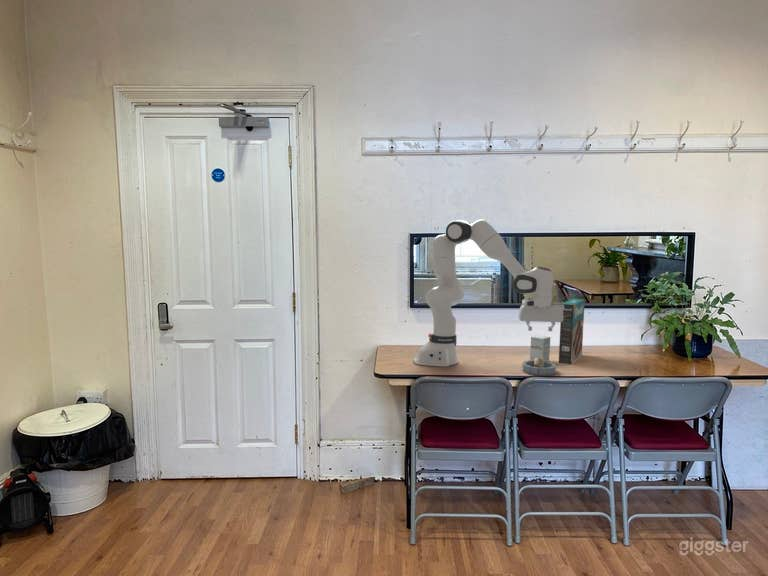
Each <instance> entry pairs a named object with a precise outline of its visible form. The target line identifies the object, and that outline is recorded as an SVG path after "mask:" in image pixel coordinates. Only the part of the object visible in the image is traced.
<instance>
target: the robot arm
mask: <svg viewBox="0 0 768 576" xmlns="http://www.w3.org/2000/svg"><path fill="white" fill-rule="evenodd" d="M444 233H445V234H439V235H437V236H436V237H435V238H434V240H433V243H432V244H433V245H432V270H433V271H432V272H433V275H434V276H435V277H436V280H437V283H438V286H434V287H432V288H431V289H429V290H428V291H427V292H426V295H425V301H426V304H427V305H428V306H429V308H430V310H431V313H432V319H433V333H431V332H430V333H428V338H429V341H428V342H427V343H425V344H423V345H422V346H421V347H420V348H419V350H418V352H417V356H414V358H413V363H414V364H415V365H417V366H418V365H419V366H430V367H432V366H433V367H444V368H445V367H450V366H453V365H457V364H458V363H459V359H458V355H457V344H458V343H457V340H458V339H457V338H458V337H457V334H456V333H457V332H456V331H457V329H456V328H457V326H456V325H457V319H456V318H455V316H454V315H453V311H452V306H453V307H454V306H456V305H458V304H459V303H461V302H462V300H464V297H465V292H464V290H463V288H462V287H461V286H460V282H459V280H458V275H457V272H456V271H457V270H456V269H457V268H456V247H457V245H460V244H463V243H465V242H467V241H469V240H471V241H473V242H474V243H475V244H476V246H477V247H478V248H479V249H480V251H482V252H483V254H484V255H486V256H487V257H488V258H489V259H492V260H496V261H498V262H499V263H501V264H502V265H503V266H504V267H505V268H506V269H507V271H508V272H509V273H510V274H511V275H512V277H513V279H512V282H511V285H512V289H513V290H514V291H515V292H516V293H518V294H521V295H524V294H532V296H531V297H528V298H525V299H522V300H521V303H522V304H521V306H520V307H519V311H518V319H519V321H521V322H525V323H526V325H527V330H528V331H530V332H531V331H533V326H531V325H530V323H531V322H537V323H539V322H544V323H551V325H550V326H548V329H547V330H548V332H553V329H554V327H555V325H556V323H561V322H562V321H563V310H564V305H563V304H562V303H563V302H562V301H561V302H560V301H558V302H557V301H553V294H552V289H553V287H554V284H553V283H554V279H553V278H554V276H553V271H552V270H551V269H550V268H547V267H545V266H535V267H534V268H533V269H531V270H528V269H526V268H525V267H524V266H523V265H522V264H521V263H520V262H519V260H517V258H515V256H514V255H513V254H512V252H511V250H510V249H509V248H508V246H507V244H506V242H505V241H504V239H503V238H502V236H501V235H500V234H499V233H498V231H497V230H496V229H495V228H494V227H493V226H492V225H491V224H490V223H488V222H487V221H486V220H484V219H478V220H476V221H474V222H473V223H470V222H468V221H467V220H463V219H456V220H452V221H450V222H449V223H448V224H447V225H446V227H445V231H444ZM561 304H562V305H561Z"/></svg>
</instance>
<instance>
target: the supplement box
mask: <svg viewBox="0 0 768 576" xmlns="http://www.w3.org/2000/svg"><path fill="white" fill-rule="evenodd" d="M529 350H530V351H529V360H535V358H542V359H544V361H548V362H550V352H551V351H550V350H551V336H549V335H548V336H546V335H541V334H536V335H533V336H531V337H530V349H529Z"/></svg>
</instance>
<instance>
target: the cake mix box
mask: <svg viewBox="0 0 768 576" xmlns="http://www.w3.org/2000/svg"><path fill="white" fill-rule="evenodd" d="M561 303H562V304H563V305H564V310H563V321H562V322H559V323H560V325H559V326H560V328H559V329H560V330H559V345H558V346H559V347H558V363H559V364H566V365H572V364H574V362H576V361H577V360H578V359H580V358H581V357H582V355H583V339H584V322H585V319H584V318H585V303H586V301H585V299H583V298H582V299H580V298H571V299H569V300H566V301H564V302H561ZM562 304H561V305H562Z"/></svg>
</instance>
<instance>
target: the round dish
mask: <svg viewBox="0 0 768 576" xmlns="http://www.w3.org/2000/svg"><path fill="white" fill-rule="evenodd" d="M521 368H522V372H523V373H525V374H528V375H533V376H539V377H541V376H542V377H549V376H554V375H555V374H556V371H557V365H556V363H554V362H551V361H544V366H543V368H538V367H534V360H530V359H528V360H524V361H523V362H522V363H521Z"/></svg>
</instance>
